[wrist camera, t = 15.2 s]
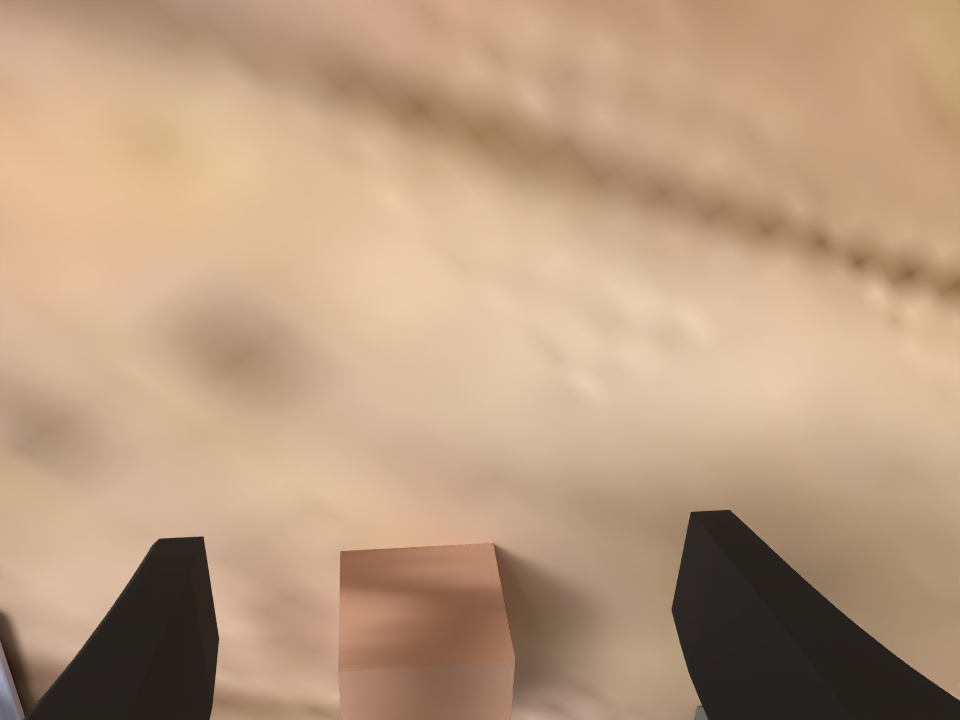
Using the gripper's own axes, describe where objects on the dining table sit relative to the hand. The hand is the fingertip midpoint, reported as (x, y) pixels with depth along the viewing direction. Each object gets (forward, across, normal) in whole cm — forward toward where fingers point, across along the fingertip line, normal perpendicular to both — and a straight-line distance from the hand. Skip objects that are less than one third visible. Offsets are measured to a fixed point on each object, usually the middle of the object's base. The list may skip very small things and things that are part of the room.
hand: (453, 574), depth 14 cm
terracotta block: (+10, 0, +11) cm, 15 cm away
